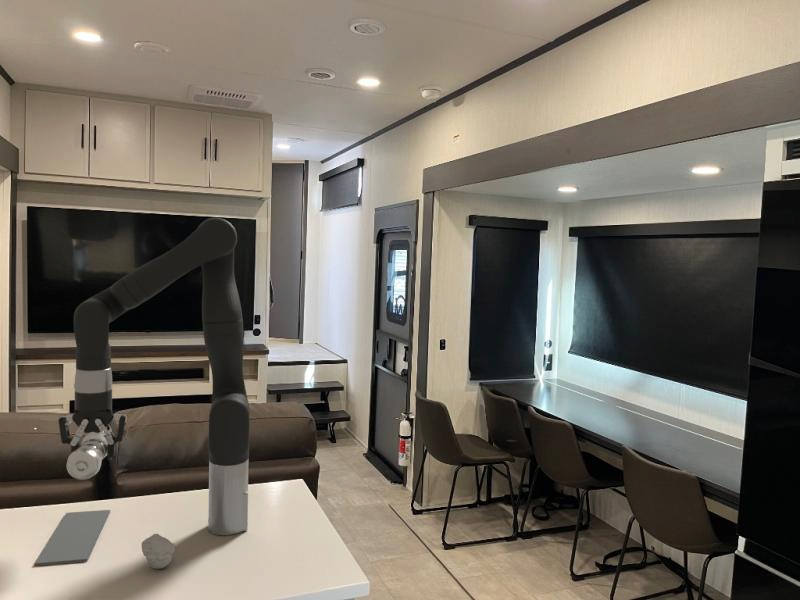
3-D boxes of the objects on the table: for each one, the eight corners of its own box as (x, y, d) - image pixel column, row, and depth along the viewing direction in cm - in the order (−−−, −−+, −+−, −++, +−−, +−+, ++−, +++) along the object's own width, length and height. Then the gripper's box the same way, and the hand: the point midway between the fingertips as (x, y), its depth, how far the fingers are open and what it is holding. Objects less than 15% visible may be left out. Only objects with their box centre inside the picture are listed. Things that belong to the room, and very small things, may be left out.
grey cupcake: (149, 558, 132) (149, 528, 132) (180, 560, 132) (180, 530, 131) (135, 573, 126) (135, 542, 126) (168, 576, 126) (168, 544, 125)
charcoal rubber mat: (110, 512, 153) (110, 509, 153) (87, 561, 130) (87, 558, 130) (66, 514, 150) (66, 512, 150) (35, 566, 127) (35, 563, 127)
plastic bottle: (56, 466, 125) (80, 435, 144) (79, 489, 126) (100, 456, 145) (83, 446, 125) (103, 418, 145) (105, 469, 127) (122, 438, 146)
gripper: (131, 383, 141) (130, 452, 142) (62, 383, 137) (62, 455, 138) (125, 391, 133) (124, 464, 135) (53, 392, 130) (53, 467, 131)
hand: (93, 459), depth 137 cm, fingers closed on plastic bottle, 6 cm apart
